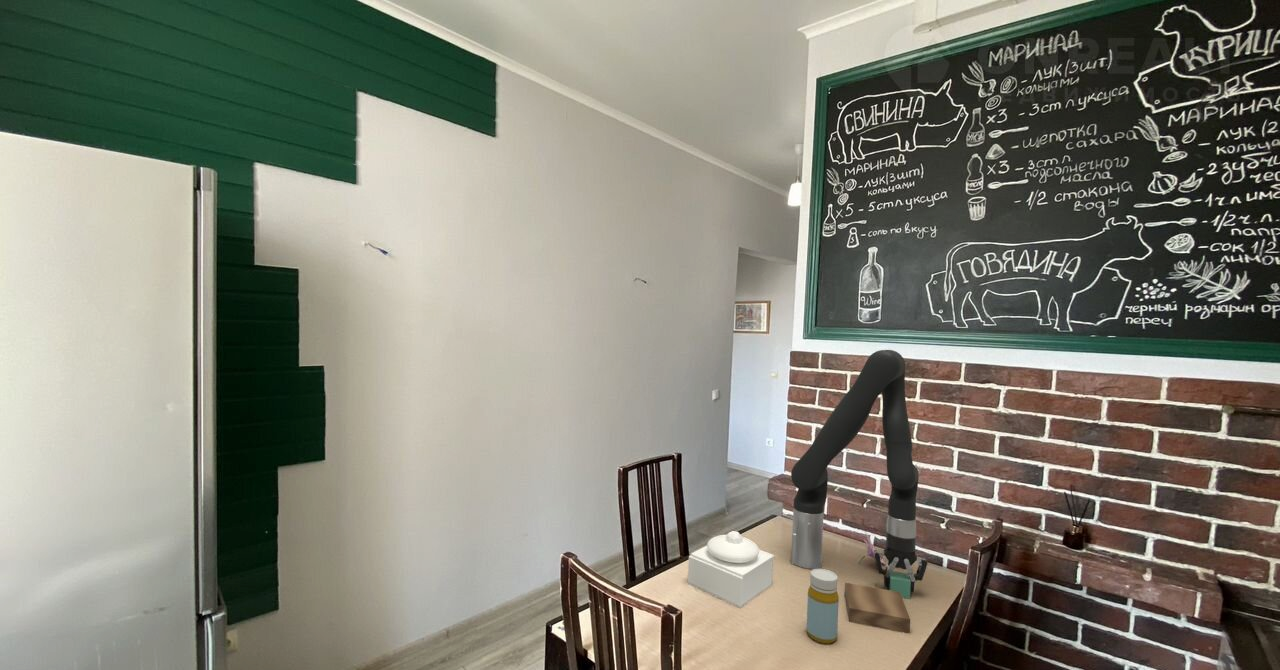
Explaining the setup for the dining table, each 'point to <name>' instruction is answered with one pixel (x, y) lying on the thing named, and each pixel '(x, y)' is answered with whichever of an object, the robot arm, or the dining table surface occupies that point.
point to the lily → (870, 550)
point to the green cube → (900, 583)
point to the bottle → (822, 606)
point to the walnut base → (876, 608)
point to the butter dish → (731, 569)
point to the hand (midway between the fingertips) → (898, 590)
